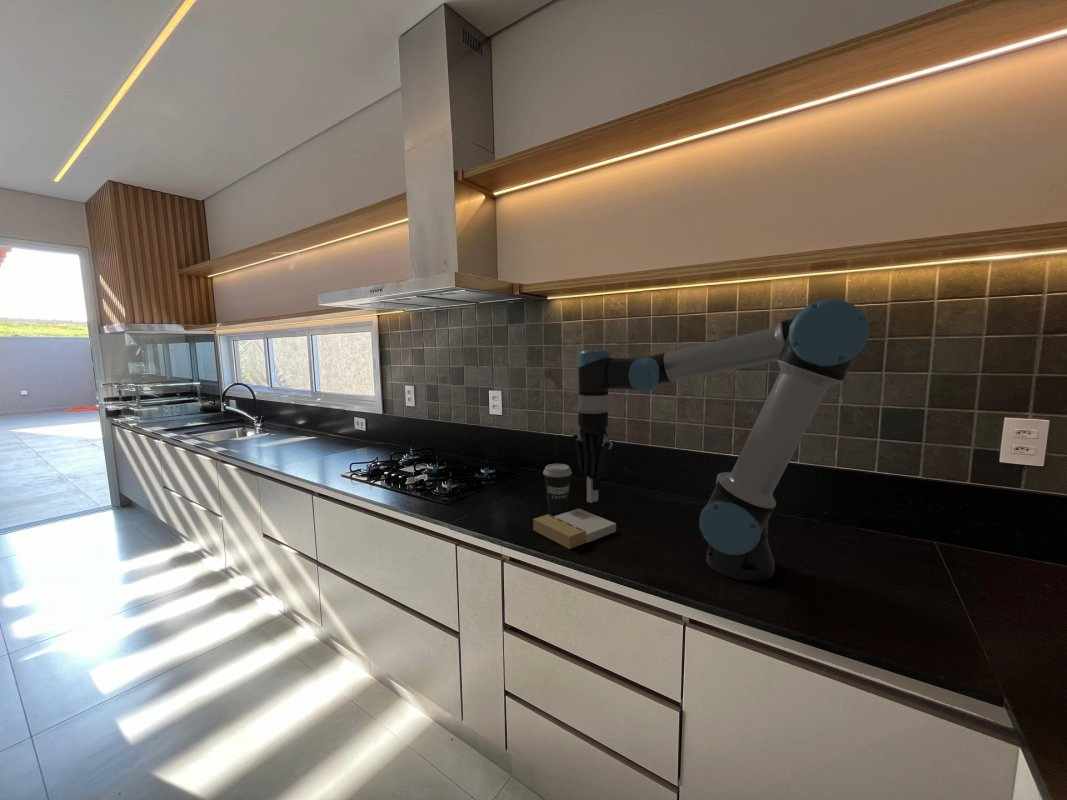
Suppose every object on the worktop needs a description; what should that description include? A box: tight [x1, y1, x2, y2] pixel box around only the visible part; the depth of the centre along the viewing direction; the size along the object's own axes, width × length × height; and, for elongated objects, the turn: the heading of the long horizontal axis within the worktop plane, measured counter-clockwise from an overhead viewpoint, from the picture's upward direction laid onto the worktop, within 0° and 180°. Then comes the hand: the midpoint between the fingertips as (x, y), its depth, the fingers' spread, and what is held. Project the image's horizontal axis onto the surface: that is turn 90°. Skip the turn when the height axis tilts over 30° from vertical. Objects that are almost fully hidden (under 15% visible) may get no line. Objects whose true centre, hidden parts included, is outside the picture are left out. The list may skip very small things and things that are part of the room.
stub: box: [532, 513, 586, 550], centre depth 125 cm, size 16×6×4 cm, turn 38°
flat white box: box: [553, 508, 617, 544], centre depth 131 cm, size 16×12×3 cm
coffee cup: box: [542, 463, 573, 515], centre depth 146 cm, size 10×10×15 cm
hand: (592, 500), depth 113 cm, fingers closed
